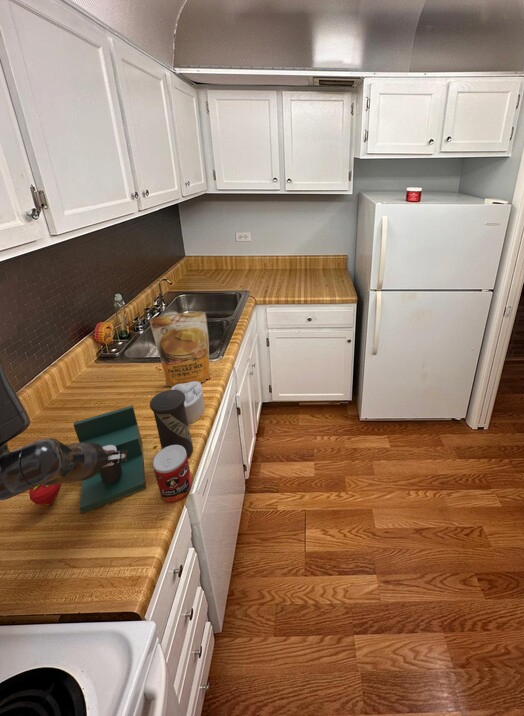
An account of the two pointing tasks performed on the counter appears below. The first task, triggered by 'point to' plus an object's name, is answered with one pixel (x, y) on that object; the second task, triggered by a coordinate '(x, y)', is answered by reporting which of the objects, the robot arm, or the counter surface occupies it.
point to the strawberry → (44, 494)
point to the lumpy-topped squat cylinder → (192, 400)
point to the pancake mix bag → (182, 346)
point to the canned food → (172, 473)
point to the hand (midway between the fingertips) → (111, 458)
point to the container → (172, 419)
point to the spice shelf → (124, 436)
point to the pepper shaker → (110, 469)
